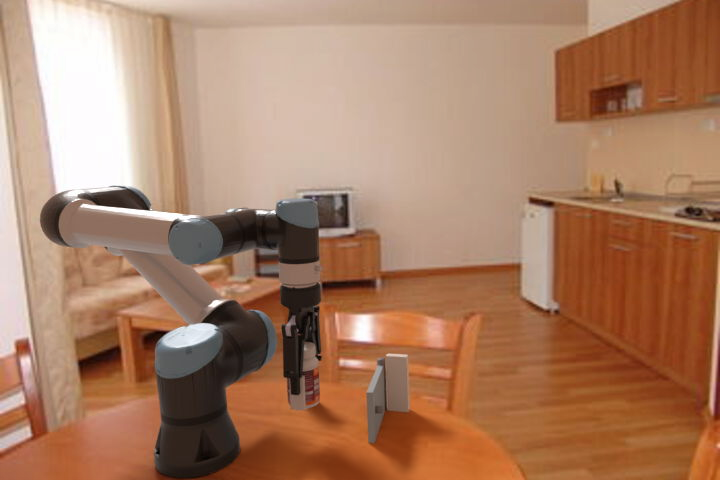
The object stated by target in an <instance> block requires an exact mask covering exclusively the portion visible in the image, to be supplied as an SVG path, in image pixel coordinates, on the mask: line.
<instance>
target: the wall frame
mask: <svg viewBox="0 0 720 480" xmlns="http://www.w3.org/2000/svg"><path fill="white" fill-rule="evenodd" d="M385 362H386V390H387V411H388V412H389V411H391V412H399V413H400V412H401V413H409V412H410V409H411V408H410V407H411V406H410V380H409V375H410V374H409V372H410V371H409V355H408V354H403V353H386V355H385Z"/></svg>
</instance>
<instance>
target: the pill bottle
mask: <svg viewBox="0 0 720 480" xmlns="http://www.w3.org/2000/svg"><path fill="white" fill-rule="evenodd" d="M315 355H316V349H315V344H314V343H311V342H305V344H304V357H303V370H302V375H303V376H305V402H306V409H311V408H313V407H316V406H317V405H319V404H320V400H321V390H320V388H321V387H320V384H321V383H320V364H319V362H320V361H318V359H317V358H316V357H315ZM286 385H287V386H286V393H287V404H288V405H289V406H290V383H289V378H286Z"/></svg>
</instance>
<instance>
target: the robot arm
mask: <svg viewBox="0 0 720 480" xmlns="http://www.w3.org/2000/svg"><path fill="white" fill-rule="evenodd" d="M151 206H152V203H151V201H150V200H149V198H148V196H146V194H144V192H142V191H141V190H140V189H137V188H135V187H133V186H129V185H128V186H127V185H110V186H106V187H104V186H103V187H93V188H81V189H68V190H64V191H61V192H58V193H57V194H55V195H53V196H51V197H50V198H49V199H48V200H47V201H46V202H45V203H44V205H43V207H42V209H41V211H40V214H39V224H40V228H41V230H42V232H43V234H44V236H45V237H46V238H47V239H48V240H50V242H52V243H54V244H56V245H59V246H61V247H69V248H74V249H85V248H89V247H91V246H97V247H103V248H105V250H107V252H108V253H109V254H110V255H113V256H116V257H120V256H122V257H123V258H124V259H125V260H126V261H127V262H128V263H129V264H130V265H131V266H132V267H133V268H134V269H135V270H136V271H137V272H138V274H140V276H141V277H142V278H143V279H144V280H145V281H146V282H147V283H148V284H149V285H150V286H151V287H152V288H153V289H154V290H155V291H156V292H157V293H158V294H159V295H160V296H161V297H162V299H164V301H165V302H166V303H167V304H168V305H169V306H170V307H171V308H172V309H173V310H174V311H175V312H176V313H177V314H178V316H180V318H182V319H183V321H184V322H185V323H186V324H187V325H188V326H185V325H184V326H180V327H177V328H174V329H173V330H170V331H168V332H166V333H165V334H164V335H163V336H162V337H160V339H158V341H157V343H156V345H155V349H154V357H155V358H154V364H153V365H154V371H155V376H156V385H157V394H158V401H159V402H158V404H159V411H160V412H159V413H160V414H159V415H160V425H159V429H158V430H159V431H158V434H157V438H156V443H155V446H154V451H153V458H154V466H155V469H156V470H157V471H158V472H159V473H161V474H162V475H164V476H167V477H170V478H175V479H177V478H178V479H180V478H181V479H188V478H189V479H190V478H197V477H202V476H206V475H210V474H213V473H215V472H219V471H221V470H222V469H225V468H226V467H228V466H229V465H231V464H232V463H233V462H234V461H235V460H236V459H237V458H238V456H240V452H241V442H240V441H241V440H240V435H239V433H238V431H237V429H236V427H235V425H234V422H233V419H232V417H231V415H230V412H229V410H228V400H227V399H228V398H227V388H228V387H230V386H231V385H233V384H235V383H236V382H238V381H240V380H242V379H244V378H245V377H247V376H249V375H251V374H253V373H255V372H258V371H259V370H261V368H263V367H264V366H265V365H266V364H268V363H270V361H271V360H272V359H273V357H274V356H275V353H276V350H277V347H278V340H277V331H276V327H275V325H274V323H273V321H272V320H271V318H270V317H269V316H268V315H267V314H266V313H265V312H263V311H261V310H257V309H256V310H255V309H248V310H246V309H245V308H244V307H243V306H242V304H240V303H239V301H237V300H236V299H235V298H228V299H225V298H224V297H223V296H221V295H220V294H219V293H218V292H217V291H216V289H214V287H212V286H211V285H210V284H209V282H208V281H206V279H204V277H203V276H202V275H201V274H200V273H198V271H197V270H196V269H195V268H194V267H192V266H194V265H204V264H207V263H209V262H212V261H216V260H218V259H219V260H220V259H223V258H226V257H230V256H234V255H237V254H240V253H244V252H248V251H251V250H271V251H277V255H278V281H279V283H281V284H280V286H279V297H280V301H279V302H280V304H281V306H283V307H285V308H287V309H288V316H287V324H285V323H283V324H281V335H282V366H283V367H282V369H283V373H282V374H283V379H284V378H286V379H287V378H289V383H290V405H289V406H290V410H295V411H303V412H304V411H306V409H307V408H306V402H305V376H303V375H302V370H303V357H304V344H305V342H311V343H314V344H315V349H316V355H315V357H316V358H317V359H318V361H319V362H322V359H323V355H321V354H322V344H321V342H322V341H321V326H320V311H321V310H320V308H321V307H320V305H319V304H320V303H321V302H322V285H321V284H320V283H319V281H320V280H321V272H322V270H323V266H322V265H320V264H321V263H320V262H321V261H320V260H321V259H320V233H319V232H320V231H319V230H320V229H319V228H320V220H319V212H318V204H317V202H316V201H315V200H314V199H312V198H285V199H283V198H282V199H280V200H278V201H277V202H276V206H275V209H264V208H249V207H240V208H239V207H238V208H230V209H228V210H227V211H225V213H220V214H214V215H195V214H184V213H177V212H176V213H175V212H165V211H158V210H157V211H156V210H155V211H154V210H153V209H152V208H151Z"/></svg>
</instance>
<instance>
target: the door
mask: <svg viewBox="0 0 720 480" xmlns="http://www.w3.org/2000/svg"><path fill="white" fill-rule="evenodd" d="M365 394H366V416H367V419H366V420H367V437H368V438H367V439H368V440H367V441H368V444H375V443H376V440H377V437H378V433H379V432H380V427H381V426H382V421H383V419H384V415H385V412H386V411H387V410H388V406H387V378H386V357H377V358H376V369H375V371H374V374H373V376H372V378H371V380H370V383H369V386H368V388H367V390H366V393H365Z"/></svg>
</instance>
